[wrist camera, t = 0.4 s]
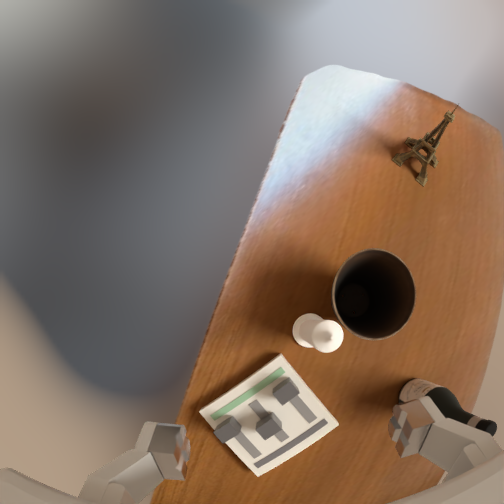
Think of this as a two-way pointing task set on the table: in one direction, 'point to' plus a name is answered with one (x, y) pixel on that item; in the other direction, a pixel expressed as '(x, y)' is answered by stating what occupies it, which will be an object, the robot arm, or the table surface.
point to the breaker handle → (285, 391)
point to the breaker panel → (263, 403)
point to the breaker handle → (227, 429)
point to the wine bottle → (444, 403)
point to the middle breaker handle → (268, 426)
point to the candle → (317, 333)
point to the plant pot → (373, 294)
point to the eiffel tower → (425, 148)
